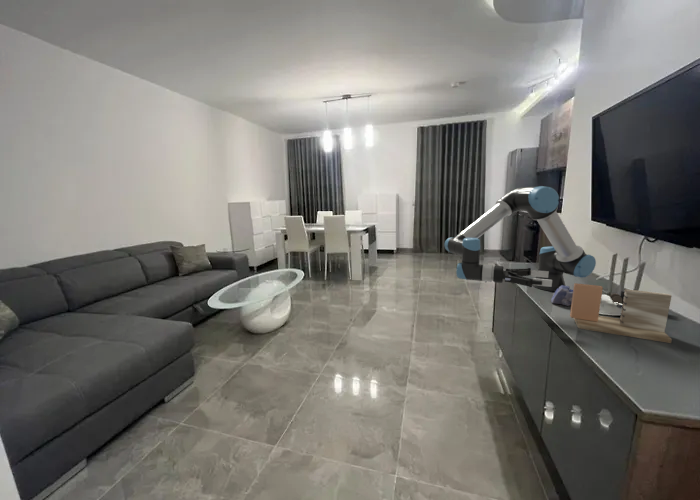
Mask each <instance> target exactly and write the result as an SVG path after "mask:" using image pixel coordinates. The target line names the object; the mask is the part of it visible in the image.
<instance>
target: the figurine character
mask: <svg viewBox="0 0 700 500" xmlns="http://www.w3.org/2000/svg"><path fill="white" fill-rule="evenodd" d="M624 293H625V291H621V292H620V294H619V293H617V292H615V293H614V292H613V293H611V294H610V295H609V297H610V299H611V301H612V303H614V302H618V303H622V304H623V299H624Z"/></svg>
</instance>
